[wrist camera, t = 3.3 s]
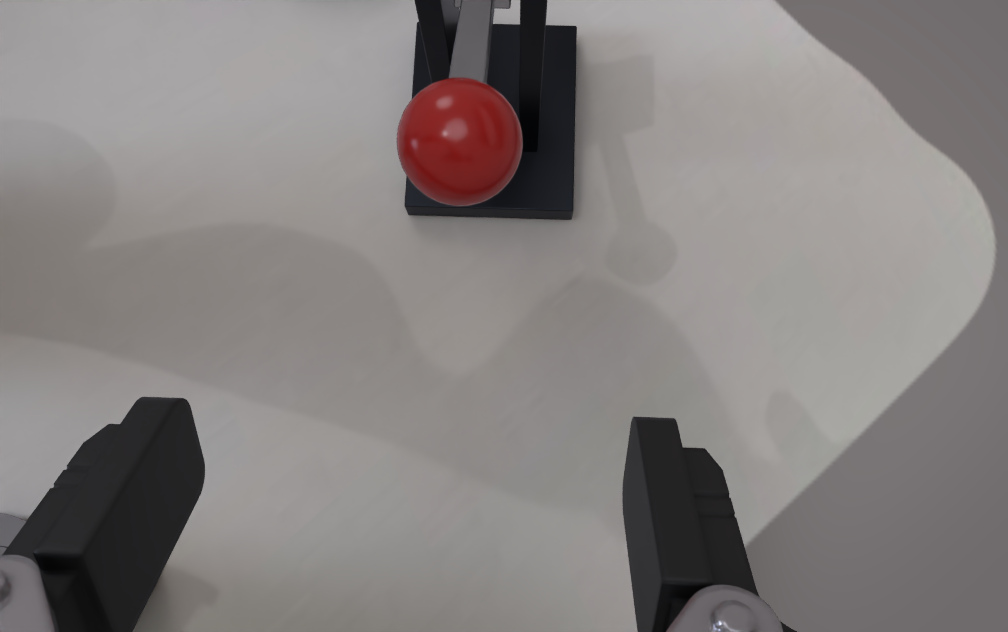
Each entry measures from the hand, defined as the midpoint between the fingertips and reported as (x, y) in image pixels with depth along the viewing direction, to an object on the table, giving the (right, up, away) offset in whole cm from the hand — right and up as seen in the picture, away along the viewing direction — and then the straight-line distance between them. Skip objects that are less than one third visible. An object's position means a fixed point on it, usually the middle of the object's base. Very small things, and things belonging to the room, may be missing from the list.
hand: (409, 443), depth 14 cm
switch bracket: (+1, +13, +30) cm, 33 cm away
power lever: (+1, +10, +13) cm, 17 cm away
